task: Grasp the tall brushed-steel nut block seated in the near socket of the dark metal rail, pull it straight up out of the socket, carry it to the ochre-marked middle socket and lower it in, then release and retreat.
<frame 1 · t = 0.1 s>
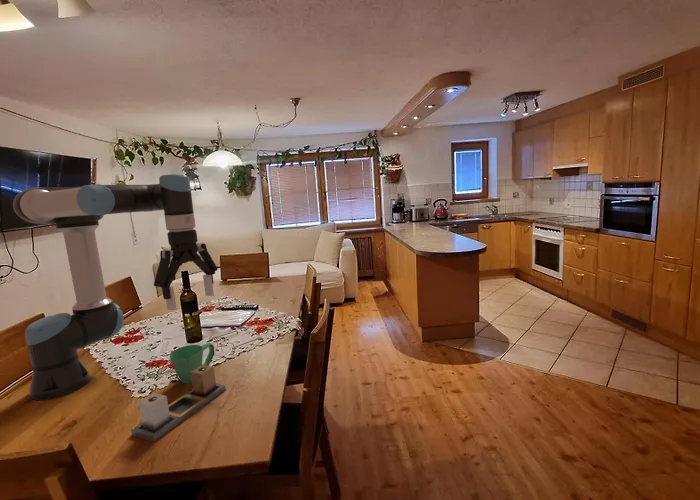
hand: (192, 302, 104), 28 cm above the table, fingers open, 13 cm apart
mug: (197, 377, 117), on the table
eyeglasses: (235, 345, 142), on the table
bronze nut: (205, 394, 105), resting on rail
rail: (183, 411, 97), on the table
steel nut: (157, 428, 90), resting on rail
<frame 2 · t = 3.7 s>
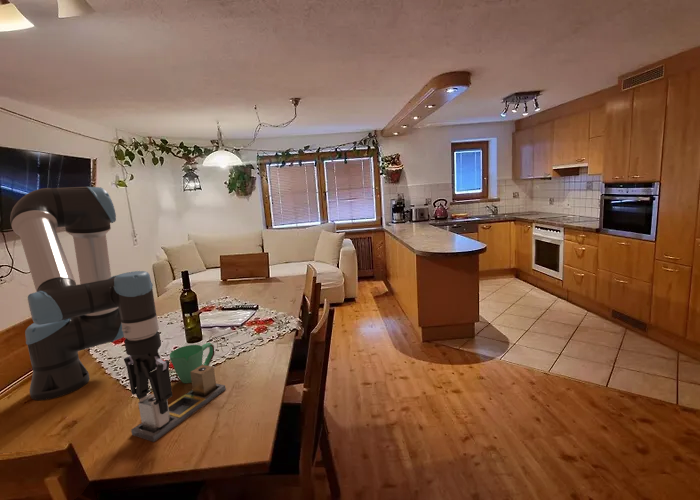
hand: (156, 421, 90), 2 cm above the table, fingers closed on steel nut, 4 cm apart
steel nut: (157, 428, 90), resting on rail, touching gripper
everything else where it was.
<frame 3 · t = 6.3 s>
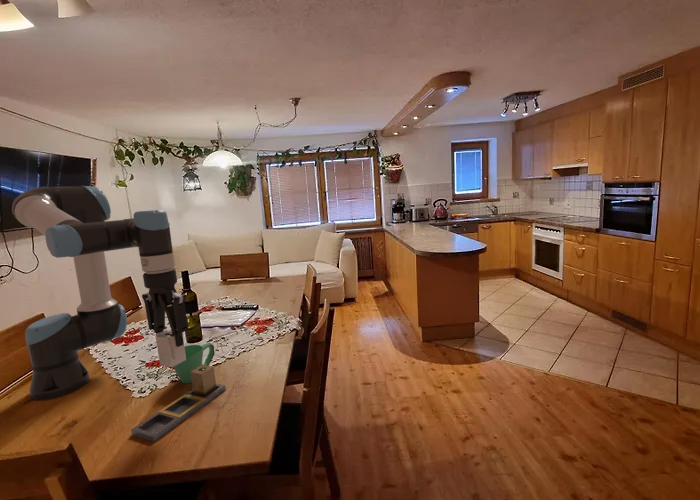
hand: (172, 355, 94), 17 cm above the table, fingers closed on steel nut, 4 cm apart
steel nut: (173, 362, 95), point 15 cm above the table, touching gripper
everything else where it was.
when the fingers open (3 cm above the table, at t = 9.0 s): steel nut stays where it is, resting on rail.
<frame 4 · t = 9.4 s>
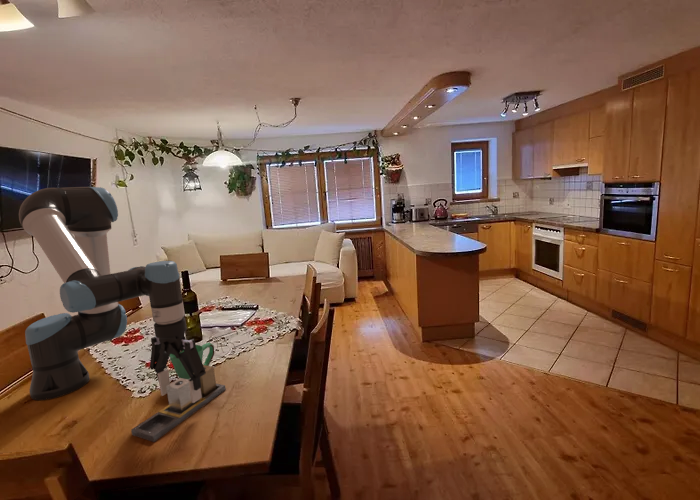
hand: (181, 396, 97), 4 cm above the table, fingers open, 11 cm apart
steel nut: (183, 410, 97), resting on rail
everything else where it was.
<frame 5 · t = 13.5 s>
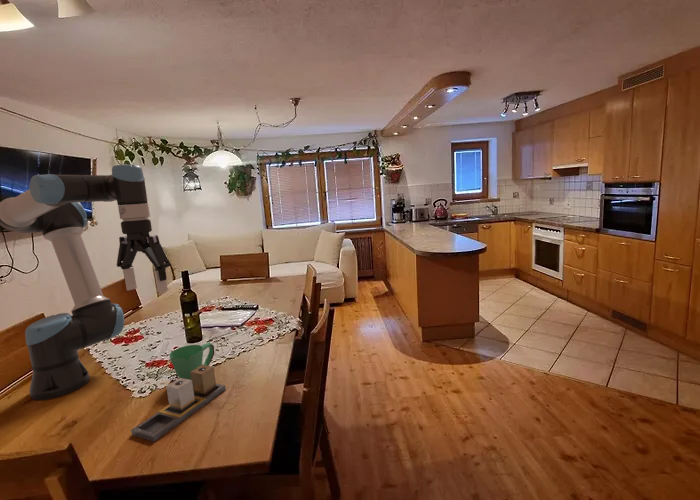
hand: (146, 290, 106), 32 cm above the table, fingers open, 13 cm apart
nothing on the table moved.
at the end: steel nut 0.0 cm off-centre on the rail, point 0.4 cm above the rail's base; steel nut tilted 0°; the gripper is holding nothing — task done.
